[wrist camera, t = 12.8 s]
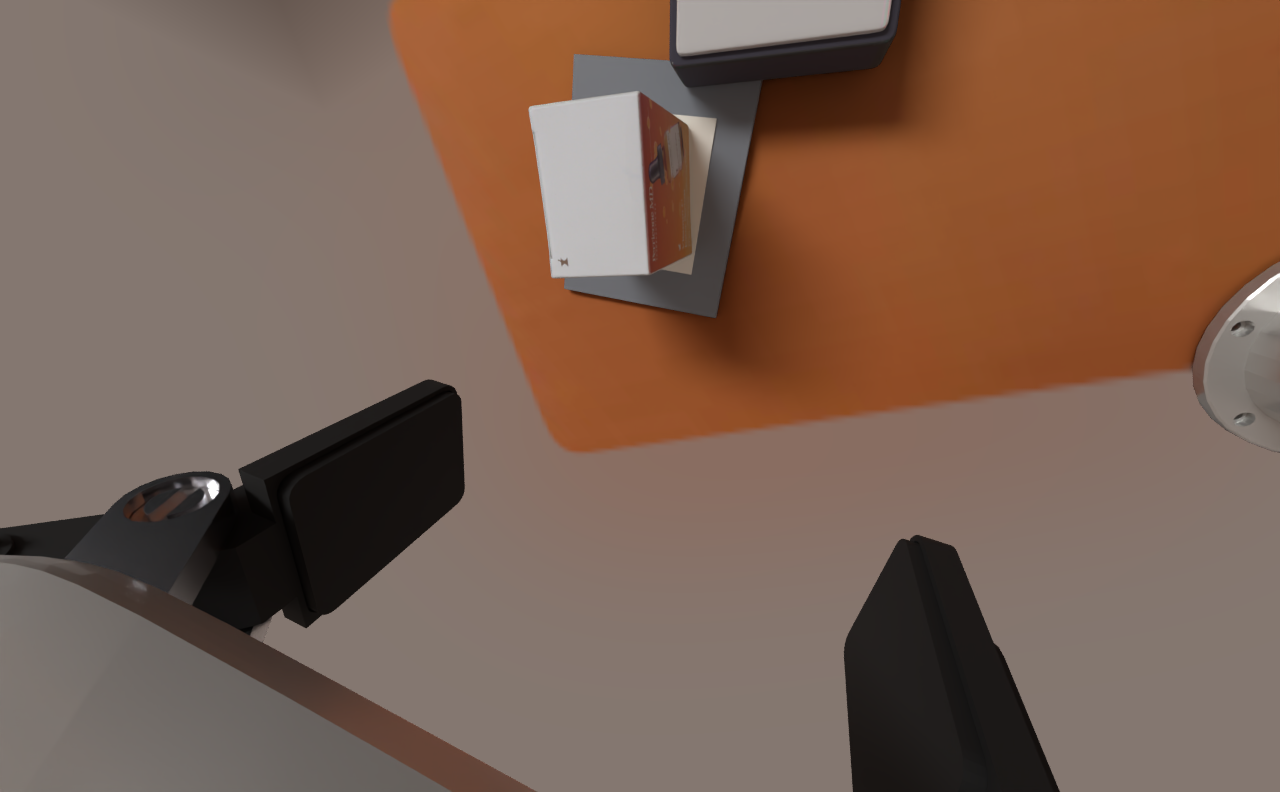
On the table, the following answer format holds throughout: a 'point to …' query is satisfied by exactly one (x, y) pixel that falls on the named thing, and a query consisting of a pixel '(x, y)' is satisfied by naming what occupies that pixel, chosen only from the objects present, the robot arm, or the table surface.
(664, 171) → the small box
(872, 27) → the calculator
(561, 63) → the table surface
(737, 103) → the board
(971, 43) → the table surface
